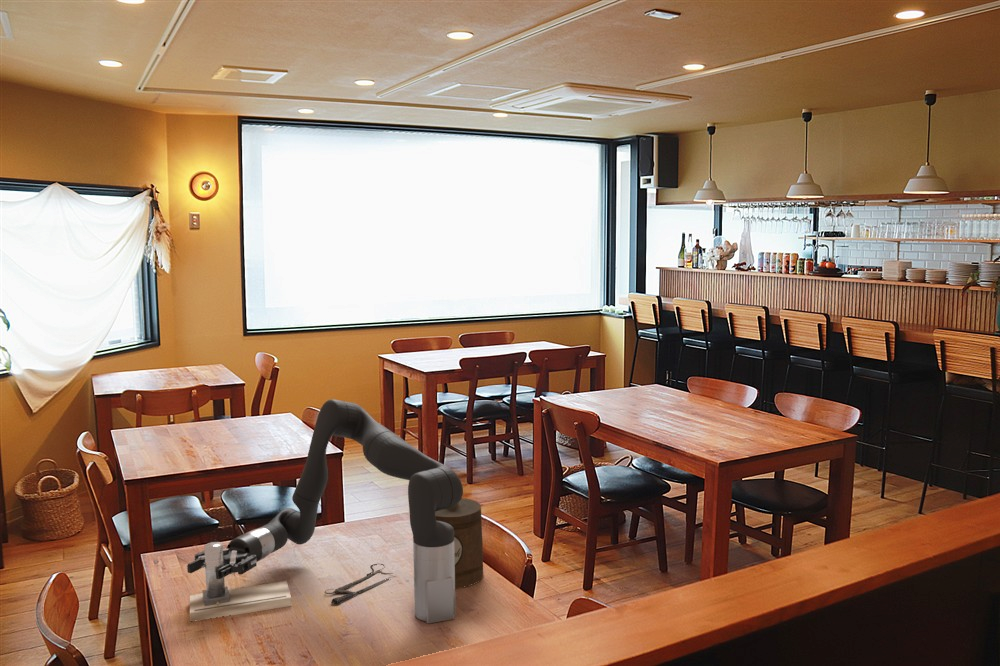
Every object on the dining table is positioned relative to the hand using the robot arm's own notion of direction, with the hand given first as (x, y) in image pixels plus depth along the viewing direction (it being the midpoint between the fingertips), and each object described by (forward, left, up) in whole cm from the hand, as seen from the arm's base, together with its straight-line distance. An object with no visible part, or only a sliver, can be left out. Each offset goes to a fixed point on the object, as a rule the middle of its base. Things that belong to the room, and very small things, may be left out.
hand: (202, 572), depth 188 cm
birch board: (+1, -8, -9) cm, 12 cm away
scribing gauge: (+1, -3, -7) cm, 8 cm away
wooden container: (-2, -59, -10) cm, 60 cm away
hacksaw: (+3, -36, -10) cm, 37 cm away
